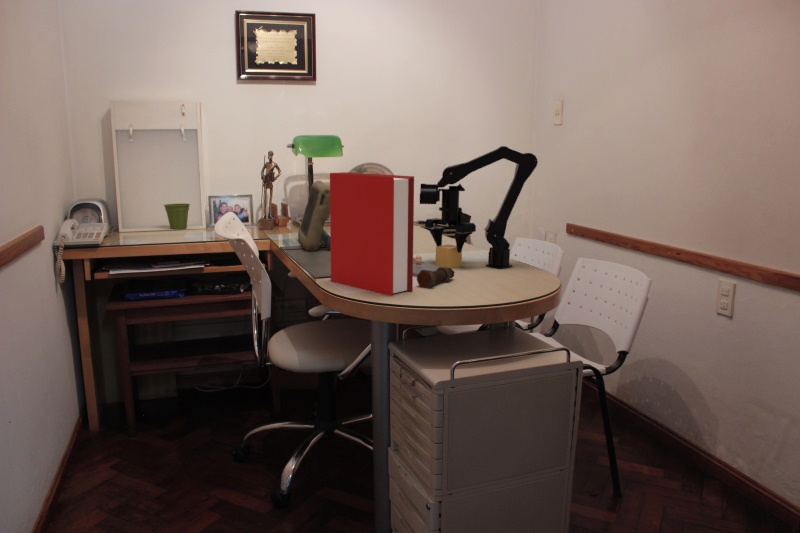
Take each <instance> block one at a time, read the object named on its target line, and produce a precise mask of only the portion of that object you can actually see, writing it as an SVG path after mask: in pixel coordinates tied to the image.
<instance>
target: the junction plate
mask: <svg viewBox="0 0 800 533" xmlns="http://www.w3.org/2000/svg"><path fill="white" fill-rule="evenodd" d="M439 267H442V266H437V265H436V264H431V263H428V262H427V263H426V262H423V260H422V256H421V255H416V257H415V262H413V277H416V278H417V276H418V274H419V272H420V271H421V270H429V271H432V272H434V271H437V269H438V268H439Z"/></svg>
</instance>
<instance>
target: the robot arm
mask: <svg viewBox="0 0 800 533" xmlns="http://www.w3.org/2000/svg"><path fill="white" fill-rule="evenodd" d="M503 159H505V160H507V161H510V162H512V163H514V164H515V169H514V174H513V178H512V180H511V183H510V185H509V186H508V190H507V191H506V194H505V196H504V198H503V201H502V203H501V204H500V207H499V210H498V212H497V214H496V216H495V217H494V218H493V219H490V218H489V219H488V221H487V225H486V227H484V229H483V230H484V236H485V239H486V242H488V244H490V245H491V246H492V247H491V246H490V247H489V251H488V260H487V262H488V263H486V264H485V266H486V267H490V268H496V269H505V268H511V267H513V265H512V264H510V255H511V254H510V253H511V252H510V250H511V249H510V246H511V244H510V242H509V241H508V240H507V239H506V238H505V235H506V231H507V225H508V224H507V223H508V220H509V218H510V216H511V214H512V212H513V209H514V207H515V205H516V203H517V200H518V198H519V196H520V194H521V191H522V190H523V187H524V185H525V183H526V181H527V180H528V179H529V178H530V176H531V175H532V174H533V172H534V171H535V170H536V168H537V166H538V160H539V159H538V158H537V156H536V155H535V154H534V153H531V152H524V153H522V152H519V151H517V150H515V149H511V148H509V147H508V146H505V145H500V146H499V147H498V148H496V149H493V150H491V151H489V152H487V153H484V154H483V155H479V156H478V157H475V158H473V159H471V160H469V161H465V162H462V163H458V164H457V163H456V164H453V165H450V166H447V167H445V168H444V169H443V171H442V174H441V176H442V177H441V178H440V180H437V183H434V184H432V183H428V184H427V183H421V184H420V189H419V190H420V191H419V205H437V203H438V202H440V200H441V207H438V211H440V212H441V218H437V217H435V218H427V219H426V220H425V221H424V228H427V231H429V232H430V235H431V236H432V238H433V241H434V243H435V246H442V244H443V233H444V231H445V229H446V228H447V229H454V230H455V232H454V238H455V244H456V245H455V246H457V251H458V253H460V252H461V250H462V251H463V247H464V245H465V242H466V240H467V238H468V237H469V235H472V234H473V233H475V232H476V231H477V229H476V228H477V225H476V224H475V223H474V222H471V220H472V215H469V214H467V213H466V212H463V209H462V207H460V192H465V191H466V189H465V187H463V186H462V184H461V183H458V182H460V181H462V180H463V179H464V178H465V177H467V176H469V175H470V174H471V173H473V172H476V171H478V170H480V169H483V168H485V167H488V166H490V165H491V164H494V163H497V162H498V161H500V160H501V161H502V160H503ZM456 183H458V185H455V184H456ZM448 185H449V186H448ZM446 186H448V188H445V187H446ZM440 196H441V199H440Z"/></svg>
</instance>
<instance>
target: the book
mask: <svg viewBox="0 0 800 533" xmlns="http://www.w3.org/2000/svg"><path fill="white" fill-rule="evenodd" d="M329 186H330V217H329V220H330V224H329V225H330V226H329V227H330V232H329V233H330V234H329V236H330V240H331V251H330V281H331V283H336V284H341V285H344V286H348V287H352V288H355V289H356V288H357V289H360V290H366V291H368V290H369V291H368V292H374V293H378V294H382V295H385V296H389V297H393V295H394V294H397V293H402V292H405V291H409V292H413V285H414V284H413V283H414V282H413V281H414V280H413V279H414V278H413V277H414V276H413V263H414V225H415V224H414V222H415V221H414V218H415V217H414V216H415V214H414V212H415V211H414V210H415V209H414V207H415V206H414V205H415V176H410V175H399V174H398V175H397V174H396V175H395V174H383V173H382V174H381V173H366V172H364V173H363V172H348V171H347V172H346V171H344V172H329Z"/></svg>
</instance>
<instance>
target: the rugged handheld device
mask: <svg viewBox="0 0 800 533" xmlns="http://www.w3.org/2000/svg"><path fill="white" fill-rule="evenodd" d="M307 198H308V199H307V204H306V206H305V208H304V209H305V210H304V213H303V215H302V216H303V217H302V219H301V223H300V226H299V229H298V232H297V233H298V234H297V236H298V241H299V243H300V245H301V246H302V248H303V249H304V250H305V251H309V252H316V251H317V250H318V249H320V248H321V247H320V246H321V243H322V242H323V244H324V246H325V248H326V250H327V251H330V252H331V240H330V234H329V233H328V232H327V231H326V230H325V229H324V226H325V224H326V221H327V220H328V219H330V184H325V183H324V182H322V180H315V181H314V182H313V183H312V185H311V188H310V191H309V194H308V197H307Z"/></svg>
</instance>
